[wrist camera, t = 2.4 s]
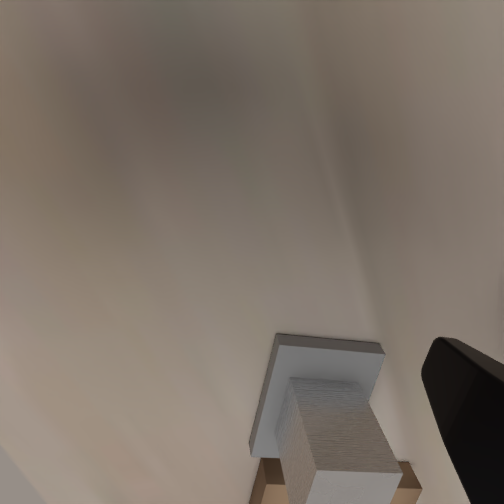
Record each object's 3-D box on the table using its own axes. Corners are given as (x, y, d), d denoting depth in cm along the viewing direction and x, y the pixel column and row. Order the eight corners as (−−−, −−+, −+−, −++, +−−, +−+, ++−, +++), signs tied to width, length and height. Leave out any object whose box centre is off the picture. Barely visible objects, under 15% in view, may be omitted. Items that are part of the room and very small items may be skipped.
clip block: (358, 382, 26) (403, 473, 20) (339, 435, 27) (376, 534, 22) (289, 376, 25) (316, 470, 19) (274, 432, 26) (295, 533, 21)
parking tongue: (378, 343, 26) (385, 354, 25) (341, 447, 29) (346, 461, 28) (276, 333, 25) (279, 345, 24) (249, 443, 28) (250, 456, 27)
